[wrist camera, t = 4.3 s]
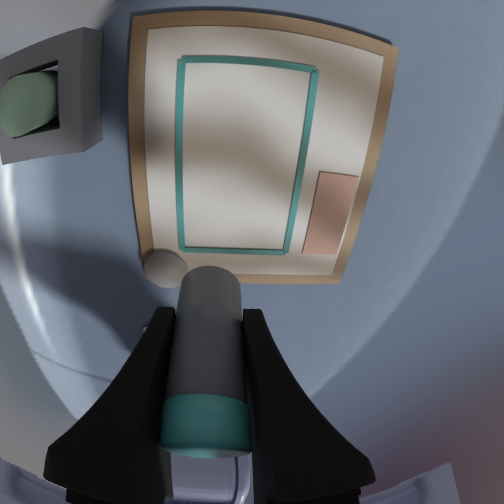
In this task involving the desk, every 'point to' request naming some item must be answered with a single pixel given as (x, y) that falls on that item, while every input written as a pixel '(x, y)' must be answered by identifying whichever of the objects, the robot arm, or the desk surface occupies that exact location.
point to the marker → (207, 370)
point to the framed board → (253, 143)
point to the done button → (29, 102)
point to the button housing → (60, 95)
